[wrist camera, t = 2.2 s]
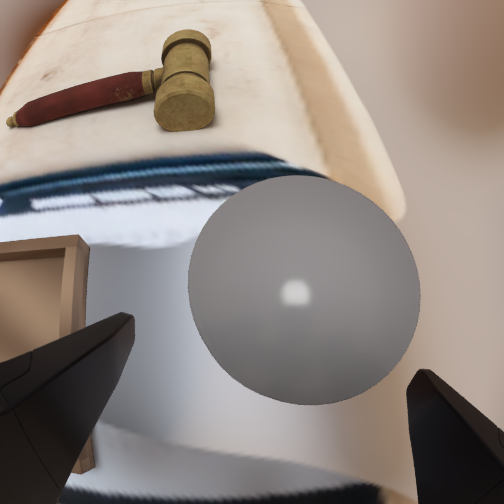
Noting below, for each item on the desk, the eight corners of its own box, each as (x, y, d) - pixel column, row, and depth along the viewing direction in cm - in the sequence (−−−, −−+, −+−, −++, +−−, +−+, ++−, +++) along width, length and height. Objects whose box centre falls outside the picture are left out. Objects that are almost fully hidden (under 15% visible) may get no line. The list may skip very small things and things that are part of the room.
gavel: (-22, 147, 19) (14, 77, 23) (3, 175, 23) (31, 105, 27) (212, 86, 20) (209, 25, 24) (217, 130, 24) (212, 63, 28)
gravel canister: (312, 384, 17) (437, 376, 6) (217, 395, 17) (197, 418, 6) (300, 295, 19) (388, 176, 8) (209, 302, 19) (186, 179, 8)
